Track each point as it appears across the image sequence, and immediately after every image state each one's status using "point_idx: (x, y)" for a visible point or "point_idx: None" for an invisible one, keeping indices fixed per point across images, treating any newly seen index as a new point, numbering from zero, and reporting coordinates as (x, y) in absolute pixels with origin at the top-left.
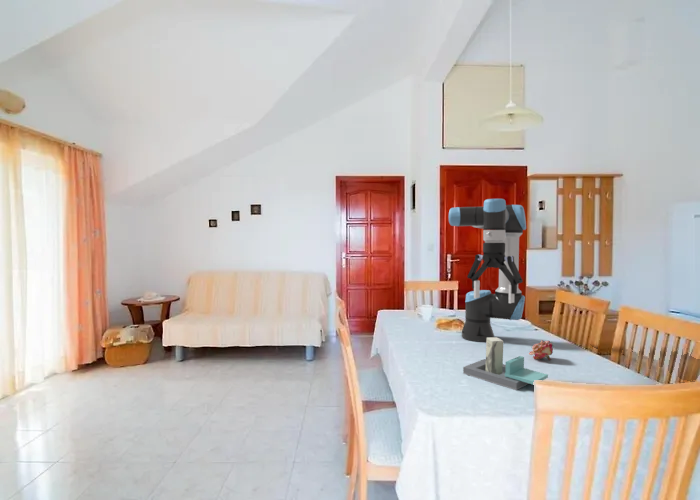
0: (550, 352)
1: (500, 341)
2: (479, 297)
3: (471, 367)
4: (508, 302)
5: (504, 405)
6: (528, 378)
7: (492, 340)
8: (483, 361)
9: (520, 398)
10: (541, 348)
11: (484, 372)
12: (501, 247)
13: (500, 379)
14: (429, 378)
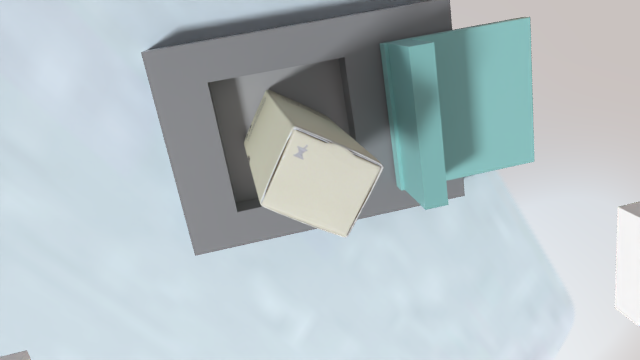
0: None
1: (373, 185)
2: (27, 352)
3: (220, 225)
4: (621, 312)
5: (498, 322)
6: (500, 149)
7: (336, 225)
8: (174, 93)
9: (501, 233)
10: None
11: None
12: None
13: (391, 208)
14: None
